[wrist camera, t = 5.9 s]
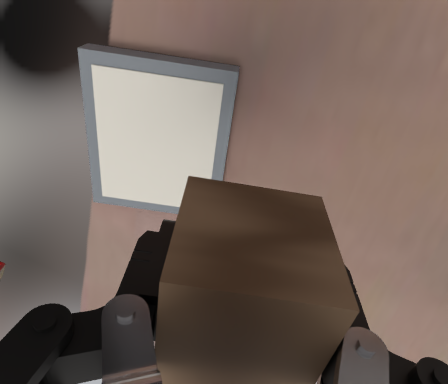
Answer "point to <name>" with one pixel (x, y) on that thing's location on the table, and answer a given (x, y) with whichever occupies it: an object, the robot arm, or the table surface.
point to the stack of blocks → (2, 269)
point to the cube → (250, 288)
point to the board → (153, 124)
